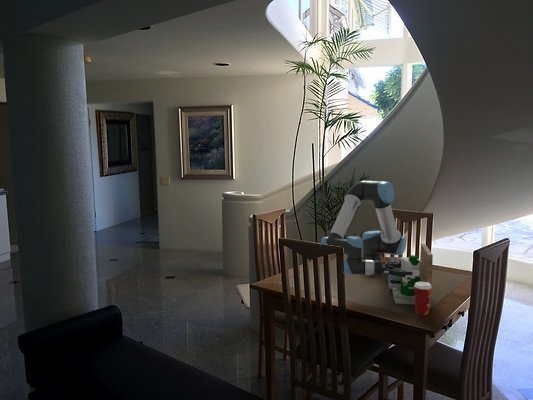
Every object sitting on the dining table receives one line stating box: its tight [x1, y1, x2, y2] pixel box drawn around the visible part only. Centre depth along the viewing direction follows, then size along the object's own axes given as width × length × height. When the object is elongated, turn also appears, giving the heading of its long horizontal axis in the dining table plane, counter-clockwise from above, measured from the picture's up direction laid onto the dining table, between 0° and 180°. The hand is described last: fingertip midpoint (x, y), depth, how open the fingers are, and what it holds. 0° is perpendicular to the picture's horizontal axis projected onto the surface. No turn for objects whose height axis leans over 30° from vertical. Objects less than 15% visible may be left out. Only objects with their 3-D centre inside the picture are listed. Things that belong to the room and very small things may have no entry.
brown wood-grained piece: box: [392, 243, 434, 309], centre depth 228 cm, size 24×16×26 cm, turn 169°
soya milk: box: [400, 254, 422, 296], centre depth 228 cm, size 9×9×20 cm
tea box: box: [387, 256, 407, 290], centre depth 249 cm, size 15×10×15 cm
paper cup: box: [414, 282, 433, 316], centre depth 210 cm, size 8×8×14 cm
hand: (417, 269), depth 227 cm, fingers open, 13 cm apart
